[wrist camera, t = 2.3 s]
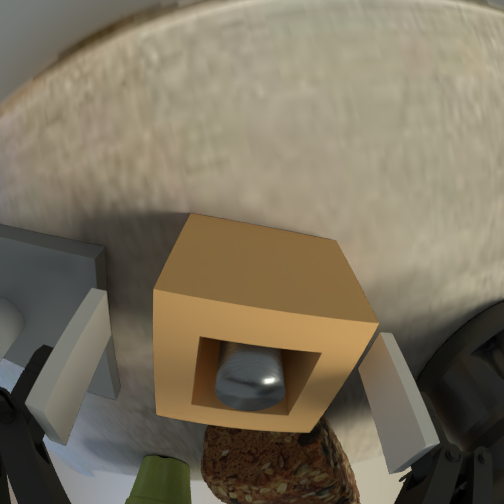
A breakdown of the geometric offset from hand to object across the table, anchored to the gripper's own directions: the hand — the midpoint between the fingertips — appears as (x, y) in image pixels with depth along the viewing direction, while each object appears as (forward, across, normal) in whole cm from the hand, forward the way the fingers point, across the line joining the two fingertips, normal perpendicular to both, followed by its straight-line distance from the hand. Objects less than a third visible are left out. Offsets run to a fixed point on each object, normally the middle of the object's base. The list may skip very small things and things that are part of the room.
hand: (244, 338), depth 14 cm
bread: (+5, -8, +19) cm, 22 cm away
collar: (+5, 0, 0) cm, 5 cm away
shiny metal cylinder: (+5, 0, 0) cm, 5 cm away
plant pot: (+5, +5, +30) cm, 31 cm away
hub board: (+5, +18, +6) cm, 19 cm away
